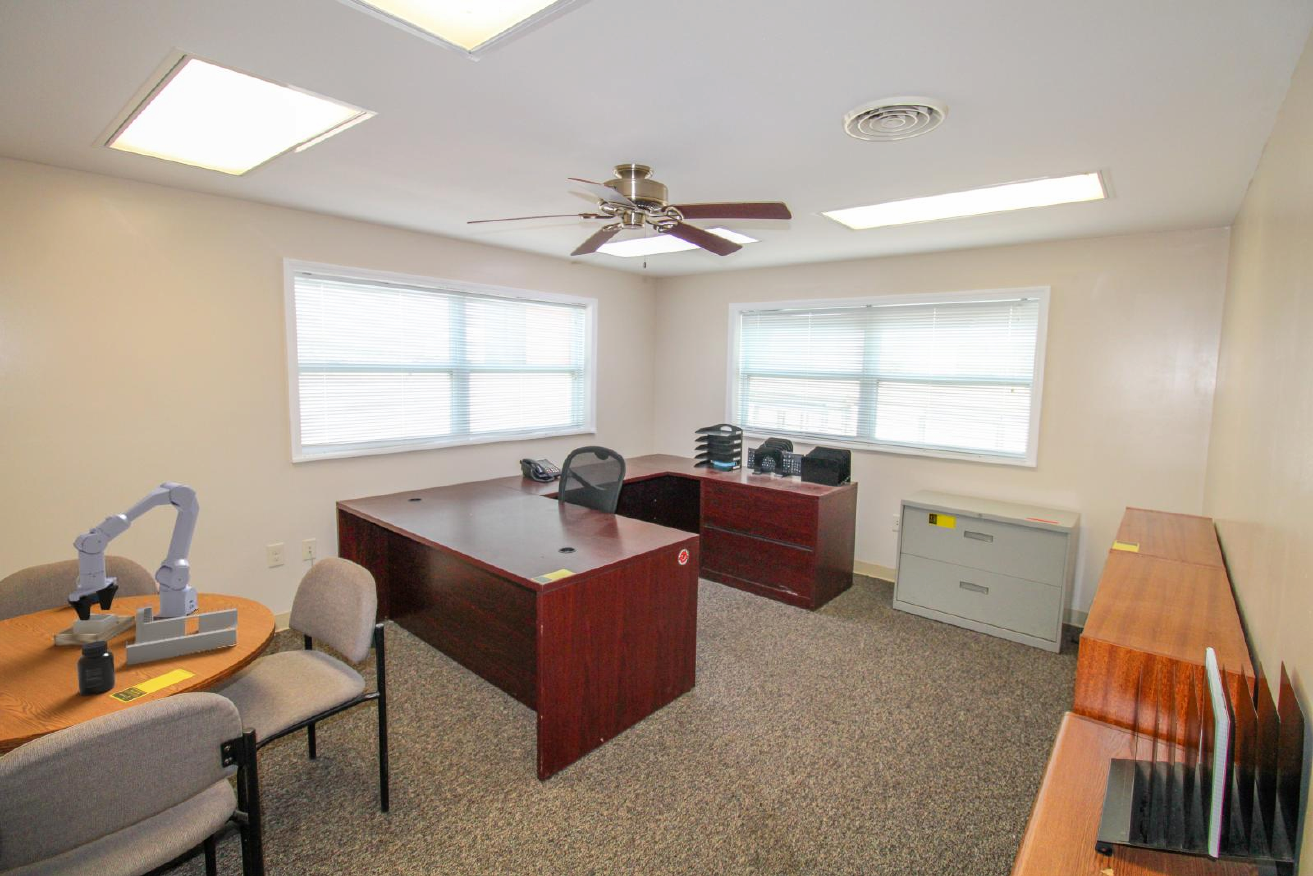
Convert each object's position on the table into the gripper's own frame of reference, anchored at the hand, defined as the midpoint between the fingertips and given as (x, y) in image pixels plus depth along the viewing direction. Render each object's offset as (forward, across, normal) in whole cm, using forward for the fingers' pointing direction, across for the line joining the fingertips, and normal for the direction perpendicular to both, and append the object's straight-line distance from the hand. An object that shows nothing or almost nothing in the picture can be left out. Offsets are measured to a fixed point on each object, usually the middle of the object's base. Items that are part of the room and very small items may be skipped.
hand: (95, 614), depth 182 cm
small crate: (+6, 0, 0) cm, 6 cm away
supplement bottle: (+7, +32, +25) cm, 41 cm away
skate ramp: (+7, +3, +28) cm, 29 cm away
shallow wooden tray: (+6, 0, 0) cm, 6 cm away
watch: (+7, -27, -22) cm, 35 cm away
